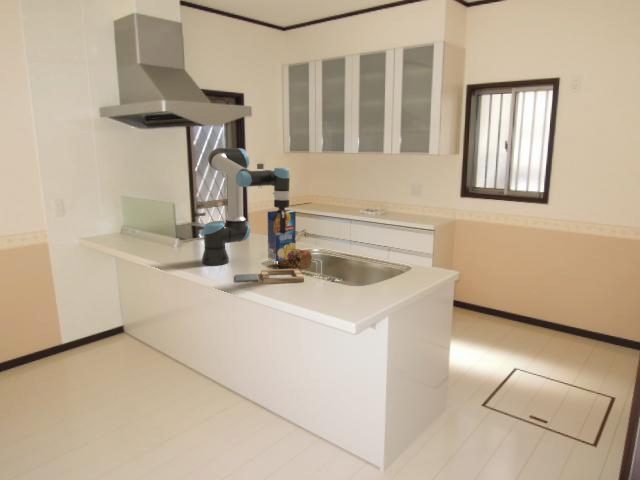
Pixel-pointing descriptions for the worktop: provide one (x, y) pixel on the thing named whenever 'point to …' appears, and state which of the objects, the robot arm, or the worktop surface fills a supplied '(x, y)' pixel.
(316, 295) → the worktop surface
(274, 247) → the juice carton
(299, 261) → the bread
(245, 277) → the plate
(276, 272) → the board
